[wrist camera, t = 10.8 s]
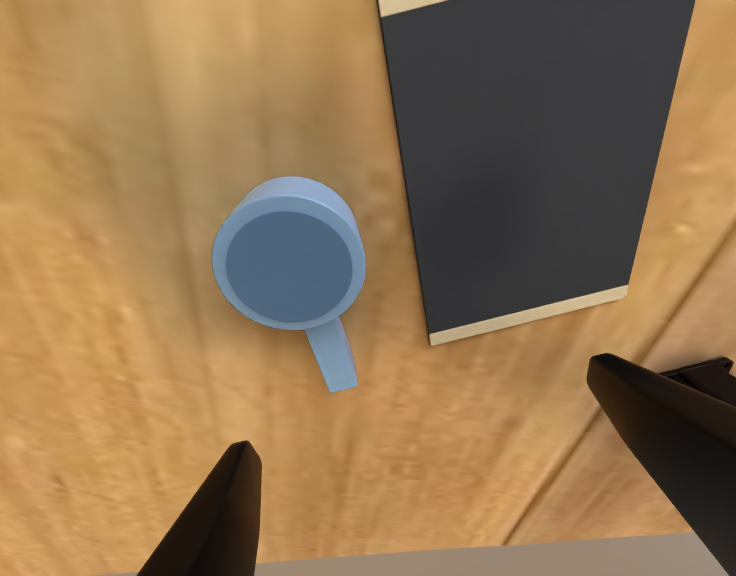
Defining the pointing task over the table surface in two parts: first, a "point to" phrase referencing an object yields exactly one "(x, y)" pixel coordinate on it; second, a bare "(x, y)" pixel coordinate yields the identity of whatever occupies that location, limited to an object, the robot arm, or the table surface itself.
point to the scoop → (295, 266)
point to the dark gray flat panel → (528, 148)
